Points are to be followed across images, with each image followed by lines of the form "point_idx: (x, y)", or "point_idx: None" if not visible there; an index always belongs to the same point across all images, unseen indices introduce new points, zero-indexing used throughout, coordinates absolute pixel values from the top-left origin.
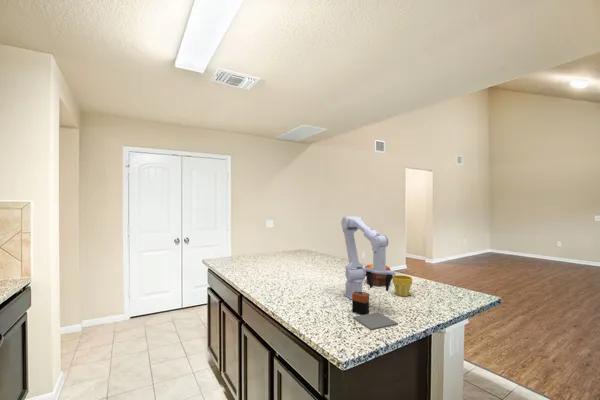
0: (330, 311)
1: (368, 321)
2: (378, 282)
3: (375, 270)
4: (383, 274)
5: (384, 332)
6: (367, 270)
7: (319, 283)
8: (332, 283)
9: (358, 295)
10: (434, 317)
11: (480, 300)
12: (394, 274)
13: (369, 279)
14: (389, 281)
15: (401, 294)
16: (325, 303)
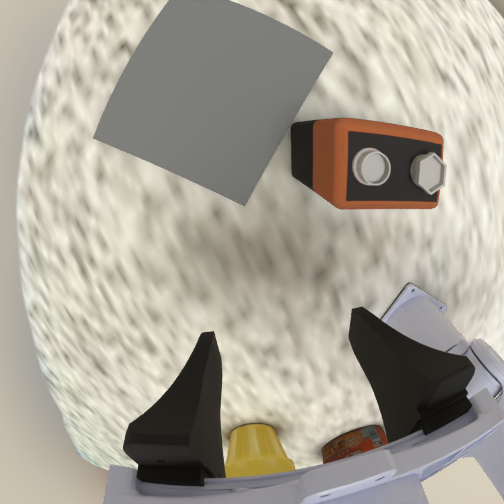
0: (441, 90)
1: (229, 41)
2: (348, 443)
3: (385, 486)
4: (257, 476)
5: (119, 15)
6: (463, 426)
7: (498, 330)
8: None
9: (395, 124)
10: (54, 321)
11: (92, 452)
12: (113, 487)
13: (406, 350)
14: (154, 404)
15: (248, 428)
16: (481, 172)
